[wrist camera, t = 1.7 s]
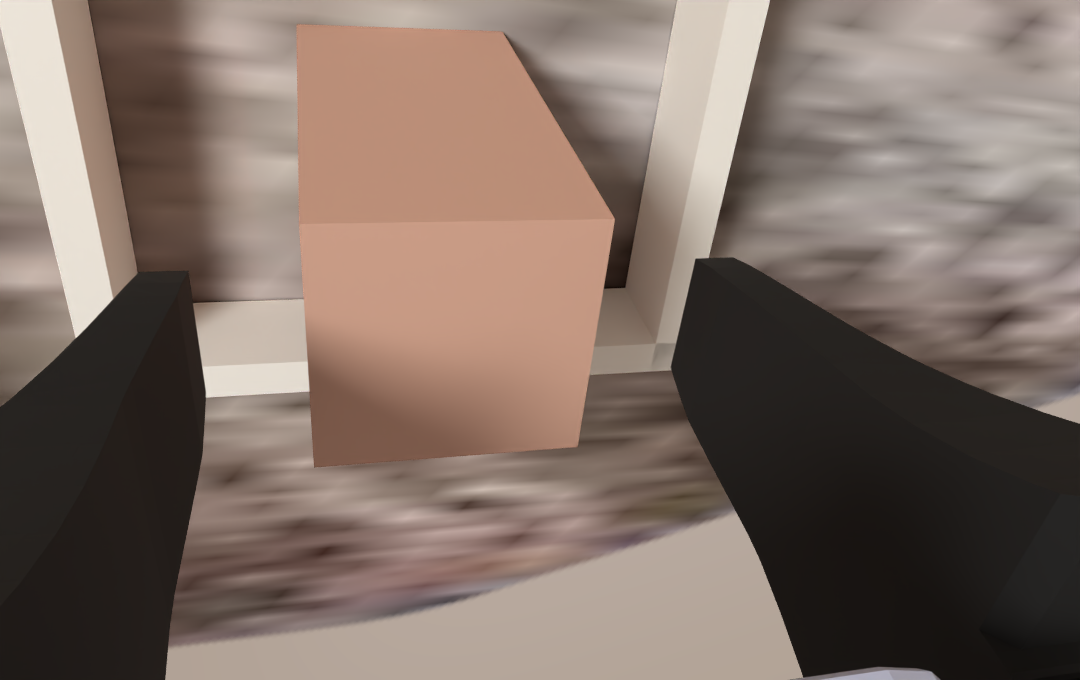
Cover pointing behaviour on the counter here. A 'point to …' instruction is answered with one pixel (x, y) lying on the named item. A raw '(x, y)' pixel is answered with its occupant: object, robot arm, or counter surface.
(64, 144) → the shelf bay
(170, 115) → the counter surface
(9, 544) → the robot arm
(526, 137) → the plain salmon-coloured rectangular block
